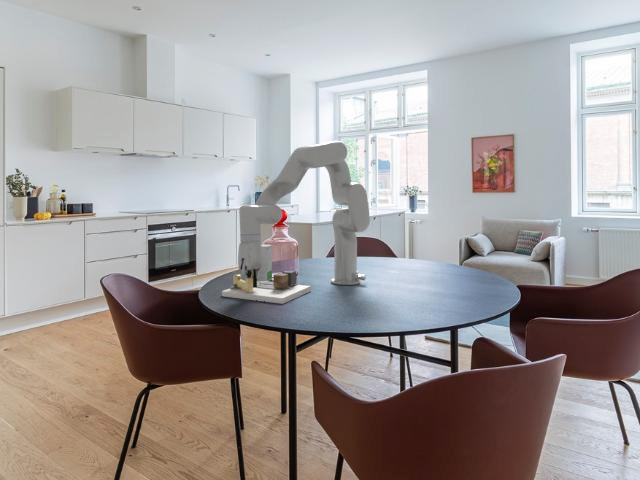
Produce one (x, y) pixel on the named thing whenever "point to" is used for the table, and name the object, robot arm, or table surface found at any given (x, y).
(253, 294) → the panel
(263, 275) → the skincare box
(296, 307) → the table surface
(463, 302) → the table surface
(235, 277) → the brass lever
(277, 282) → the walnut slider
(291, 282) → the gray slider
